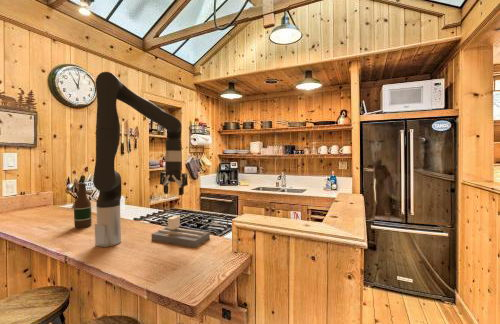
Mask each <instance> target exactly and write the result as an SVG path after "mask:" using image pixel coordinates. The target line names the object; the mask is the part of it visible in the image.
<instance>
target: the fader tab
mask: <svg viewBox="0 0 500 324" xmlns="http://www.w3.org/2000/svg"><path fill="white" fill-rule="evenodd" d="M180 222H181V217H180V216H179V215H173V216H170V217H168V218H167V227H168V229H171V231H175V232H176V231H177V228H181V223H180Z"/></svg>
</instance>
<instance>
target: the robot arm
mask: <svg viewBox="0 0 500 324" xmlns="http://www.w3.org/2000/svg"><path fill="white" fill-rule="evenodd" d="M95 93H96V117H95V118H96V120H95V122H96V123H95V164H94V170H93V178H92V181H93V182H92V183H93V187H95V189H96V190H97V191H98V197H97V199H96V223H95V224H94V244H95V247H101V248H107V247H112V246H116V245H118V244H120V243H121V242H122V228H121V227H122V226H121V199H122V177H121V175H120V174H121V173H119V172H118V171H117V170H116V168H115V163H116V162H115V161H116V160H115V159H116V155H117V154H118V153H117V152H118V149H119V145H120V142H121V139H120V138H121V123H120V119H119V113H118V110H117V109H118V108H117V100H118V101H120V102H122V103H124V104H125V105H128V106H129V107H130V108H132V109H134V110H135V111H136V112H138V113H139V114H140V115H142V116H143V117H145V118H147V119H148V120H149V121H152V122H153V123H155V124H157V125H159V126H160V127H162V128H164V129H165V130H166V140H165V153H164V154H165V155H164V162H165V163H164V165H165V166H164V170H165V171H160V173H159V185H162V187H163V194H165V195H168V194H169V185H170V183H172V182H173V183H176V184H177V186H178V195H179V196H184V193H185V192H184V191H185V189H184V188H185V187H187V186H188V185H189V184H188V182H189V181H188V173H187V172H183V173H182V168H183V155H182V122H181V121H180V120H179V118H177V117H176V116H174V115H172V114H170V113H168V112H167V111H165V110H164V109H162V108H161V107H159V106H158V105H157V104H155V103H153V102H152V101H150V100H149V99H146V98H144V97H142V96H141V95H138V94H137V93H135V92H134V91H132V90H131V89H129V88H128V87H127V86H126V85H125V84H124V83H123V82H122V81H121V80H120V78H118V77H117V76H116V75H115V74H113V73H112V72H110V71H103V72H102V71H101V72H100V73H99V74H98V75H97V76H96V79H95Z"/></svg>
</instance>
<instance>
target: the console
mask: <svg viewBox="0 0 500 324" xmlns="http://www.w3.org/2000/svg"><path fill="white" fill-rule="evenodd" d="M210 234H211V232H210V231H202V230H198V229H197V230H195V229H190V228H189V229H188V228H181V227H178V228H177V231H176V232H175V231H171V229H168V226H164V228H162V229H160V228H159V229H158V231H155V232H153V233H151V241H154V240H155V241H156V242H159V241H160V242H161V243H165V242H166V244H171V243H172V244H173V245H178V246H184V247H189V248H194V249H196V248H197V247H199V246H200V245H202V244H204V243H205V242H207V241H208V240H210V238H211V237H210V236H211V235H210ZM155 241H154V242H155Z"/></svg>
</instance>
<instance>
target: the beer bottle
mask: <svg viewBox="0 0 500 324" xmlns="http://www.w3.org/2000/svg"><path fill="white" fill-rule="evenodd" d="M77 186H78V191H77V198H76V200H75V202H74V203H73V217H74V219H73V223H74V225H73V226H74V229H77V230H78V229H82V230H83V229H86V228H90V227H91V226H92V202H91V201H90V199H89V198H88V196H87V189H86V188H87V187H86V186H87V183H85V182H80V183H77Z"/></svg>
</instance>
